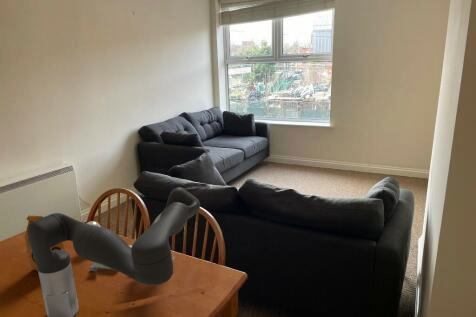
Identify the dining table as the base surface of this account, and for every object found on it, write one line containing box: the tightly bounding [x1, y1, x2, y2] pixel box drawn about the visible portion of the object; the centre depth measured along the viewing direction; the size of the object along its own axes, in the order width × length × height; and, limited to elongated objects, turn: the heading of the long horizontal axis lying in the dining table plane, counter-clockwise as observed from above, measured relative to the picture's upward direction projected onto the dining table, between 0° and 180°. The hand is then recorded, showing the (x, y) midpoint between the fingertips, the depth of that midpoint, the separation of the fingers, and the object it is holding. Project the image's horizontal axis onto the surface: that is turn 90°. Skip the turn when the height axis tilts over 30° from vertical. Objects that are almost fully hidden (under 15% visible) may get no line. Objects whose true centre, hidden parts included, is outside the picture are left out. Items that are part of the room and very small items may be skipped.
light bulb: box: [87, 220, 102, 227], centre depth 156 cm, size 7×7×12 cm
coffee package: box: [24, 215, 66, 272], centre depth 140 cm, size 10×12×22 cm
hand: (148, 243), depth 140 cm, fingers open, 8 cm apart
